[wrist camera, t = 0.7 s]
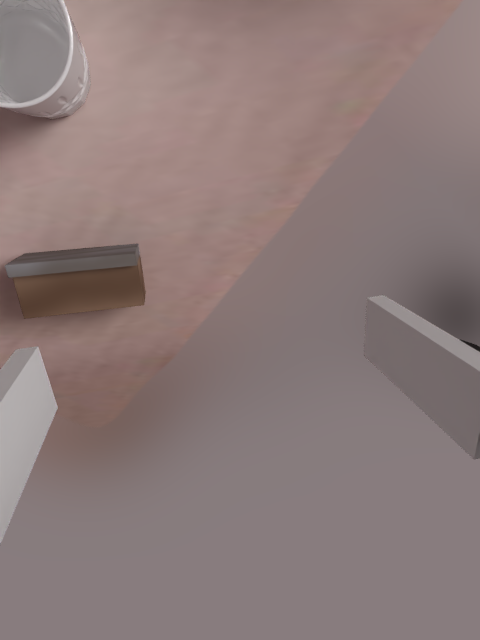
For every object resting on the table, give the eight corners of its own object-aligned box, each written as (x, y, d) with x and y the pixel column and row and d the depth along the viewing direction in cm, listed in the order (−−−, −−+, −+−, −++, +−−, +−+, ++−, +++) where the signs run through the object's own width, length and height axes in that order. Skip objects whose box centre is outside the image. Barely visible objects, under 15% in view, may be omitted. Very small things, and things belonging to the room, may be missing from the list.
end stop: (24, 253, 34) (4, 265, 30) (138, 243, 36) (135, 253, 32) (38, 304, 36) (20, 322, 32) (145, 292, 38) (143, 308, 33)
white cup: (48, 147, 32) (3, 137, 23) (-35, 56, 29) (-126, 1, 20) (119, 84, 31) (103, 48, 22) (42, -16, 28) (-14, -107, 19)
